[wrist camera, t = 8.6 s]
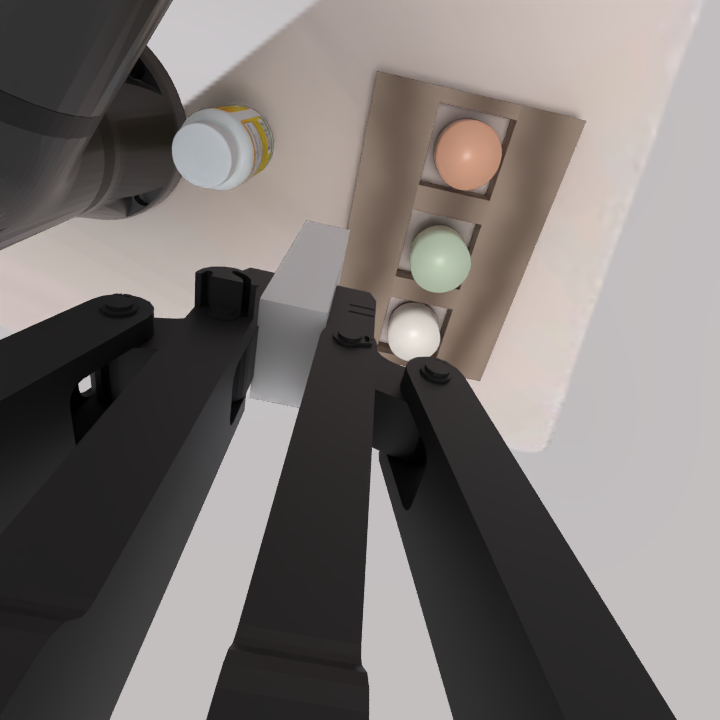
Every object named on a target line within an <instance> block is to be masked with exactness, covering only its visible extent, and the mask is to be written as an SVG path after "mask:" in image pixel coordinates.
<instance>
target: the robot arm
mask: <svg viewBox="0 0 720 720" xmlns="http://www.w3.org/2000/svg"><path fill="white" fill-rule="evenodd" d="M172 1H173V0H0V250H2V249H4V248H6V247H9V246H11V245H13V244H15V243H18V242H20V241H22V240H24V239H27V238H29V237H31V236H33V235H36V234H38V233H40V232H42V231H44V230H47V229H49V228H51V227H53V226H56V225H58V224H60V223H62V222H65V221H67V220H69V219H71V218H74V217H82V218H91V219H101V220H117V219H124V218H129V217H133V216H136V215H138V214H141V213H143V212H145V211H147V210H148V209H150V208H152V207H154V206H156V205H157V204H159V203H160V202H162V201H163V200H164V199H165V198H166V197H167V196H168V195H169V194H170V193H171V192H172V191H173V189H174V188H175V186H176V185H177V183H178V181H179V179H180V177H181V174H180V173H179V171H178V170H177V168H176V166H175V164H174V161H173V157H172V143H173V139H174V137H175V135H176V133H177V132H178V131H179V130H180V129H181V127H182V125H183V123H184V122H185V121H186V118H185V114H184V110H183V106H182V103H181V100H180V98H179V95H178V93H177V90H176V88H175V86H174V84H173V82H172V80H171V78H170V76H169V75H168V73H167V71H166V70H165V68H164V67H163V65H162V64H161V62H160V61H159V60H158V58H157V57H156V56H155V55H154V53H153V52H152V51H151V50H150V49H149V48H148V46H147V43H148V41H149V40H150V38H151V36H152V35H153V33H154V31H155V30H156V28H157V26H158V24H159V23H160V21H161V19H162V17H163V16H164V14H165V12H166V11H167V9H168V8H169V6H170V4H171V2H172ZM349 232H350V230H347V229H343V228H339V227H334V226H330V225H325V224H321V223H317V222H312V221H308V220H306V222H305V224H304V225H303V227H302V229H301V230H300V232H299V234H298V235H297V237H296V239H295V240H294V242H293V244H292V246H291V247H290V249H289V251H288V252H287V254H286V256H285V257H284V259H283V261H282V262H281V264H280V266H279V267H278V269H277V271H276V272H275V273H273V272H268V271H263V270H259V269H254V268H249V269H246V270H243V271H242V270H239V269H236V268H229V267H208V268H203V269H201V270H199V271H197V272H196V273H195V307H194V308H193V309H192V310H191V312H190V313H189V314H188V315H187V316H186V318H183V319H170V318H154V307H153V306H152V304H151V303H150V302H149V301H147V300H145V299H143V298H140V297H136V296H132V295H129V294H124V295H122V294H113V295H105V296H101V297H97V298H94V299H91V300H89V301H87V302H84V303H82V304H80V305H78V306H75V307H73V308H71V309H69V310H66V311H64V312H62V313H60V314H57V315H55V316H53V317H51V318H48V319H46V320H44V321H42V322H39V323H37V324H35V325H33V326H30V327H28V328H26V329H24V330H21V331H19V332H17V333H15V334H12V335H10V336H8V337H6V338H4V339H1V340H0V720H110V717H111V715H112V712H113V710H114V708H115V705H116V703H117V701H118V699H119V696H120V694H121V691H122V689H123V687H124V685H125V682H126V680H127V678H128V676H129V673H130V671H131V668H132V666H133V664H134V662H135V660H136V657H137V655H138V653H139V650H140V648H141V646H142V643H143V641H144V639H145V637H146V634H147V632H148V629H149V627H150V625H151V623H152V621H153V618H154V616H155V614H156V611H157V609H158V607H159V604H160V602H161V600H162V598H163V595H164V593H165V591H166V589H167V586H168V584H169V581H170V579H171V577H172V575H173V572H174V570H175V568H176V566H177V563H178V561H179V559H180V556H181V554H182V552H183V550H184V547H185V545H186V543H187V540H188V538H189V536H190V534H191V531H192V529H193V526H194V524H195V522H196V520H197V517H198V515H199V513H200V511H201V508H202V506H203V504H204V501H205V499H206V497H207V494H208V492H209V490H210V488H211V485H212V483H213V481H214V478H215V476H216V474H217V472H218V469H219V467H220V465H221V462H222V460H223V458H224V456H225V453H226V451H227V449H228V446H229V444H230V442H231V439H232V437H233V435H234V433H235V430H236V428H237V426H238V424H239V421H240V419H241V417H242V414H243V412H244V407H245V398H246V392H247V390H248V388H249V386H250V384H251V388H250V398H253V399H257V400H262V401H267V402H272V403H277V404H282V405H287V406H292V407H297V408H299V412H298V416H297V419H296V423H295V426H294V429H293V433H292V437H291V440H290V444H289V447H288V451H287V455H286V458H285V461H284V465H283V469H282V473H281V476H280V479H279V483H278V486H277V490H276V494H275V497H274V501H273V504H272V508H271V511H270V515H269V518H268V522H267V526H266V529H265V533H264V536H263V540H262V543H261V547H260V550H259V554H258V558H257V561H256V565H255V569H254V572H253V575H252V579H251V583H250V586H249V590H248V593H247V597H246V600H245V604H244V607H243V611H242V615H241V618H240V622H239V625H238V628H237V632H236V635H235V638H234V641H233V643H232V645H231V646H230V647H229V649H228V652H227V654H226V657H225V660H224V662H223V665H222V669H221V672H220V675H219V679H218V682H217V685H216V688H215V692H214V695H213V699H212V702H211V706H210V709H209V712H208V716H207V720H369V684H368V676H367V672H366V670H365V669H364V668H363V666H362V662H361V640H362V621H363V603H364V584H365V564H366V547H367V529H368V510H369V492H370V472H371V455H372V454H371V453H372V447H373V448H375V449H377V450H379V462H380V465H381V469H382V472H383V476H384V479H385V482H386V486H387V490H388V493H389V497H390V500H391V503H392V507H393V511H394V514H395V518H396V521H397V525H398V528H399V531H400V535H401V538H402V542H403V545H404V549H405V552H406V556H407V559H408V563H409V566H410V570H411V573H412V577H413V580H414V584H415V587H416V590H417V594H418V598H419V600H420V605H421V608H422V612H423V615H424V618H425V622H426V625H427V629H428V632H429V636H430V639H431V643H432V646H433V650H434V653H435V657H436V660H437V664H438V667H439V670H440V674H441V678H442V681H443V684H444V688H445V692H446V695H447V698H448V702H449V705H450V709H451V712H452V716H453V719H454V720H677V719H676V718H675V716H674V715H673V713H672V711H671V710H670V708H669V707H668V705H667V703H666V702H665V700H664V698H663V697H662V695H661V694H660V692H659V691H658V689H657V687H656V686H655V684H654V682H653V681H652V679H651V677H650V676H649V674H648V673H647V671H646V670H645V668H644V666H643V665H642V663H641V661H640V660H639V658H638V657H637V655H636V653H635V652H634V650H633V648H632V647H631V645H630V644H629V642H628V640H627V639H626V637H625V635H624V634H623V632H622V631H621V629H620V627H619V626H618V625H617V623H616V621H615V619H614V618H613V616H612V615H611V613H610V611H609V610H608V608H607V606H606V605H605V603H604V602H603V600H602V598H601V597H600V595H599V594H598V592H597V590H596V589H595V587H594V585H593V584H592V583H591V581H590V579H589V577H588V576H587V574H586V572H585V571H584V569H583V568H582V566H581V564H580V563H579V561H578V560H577V558H576V556H575V555H574V553H573V551H572V550H571V548H570V547H569V545H568V543H567V542H566V540H565V539H564V537H563V535H562V534H561V532H560V530H559V529H558V527H557V526H556V524H555V523H554V521H553V519H552V518H551V516H550V514H549V513H548V511H547V510H546V508H545V506H544V505H543V503H542V502H541V500H540V498H539V497H538V495H537V493H536V492H535V490H534V489H533V487H532V485H531V484H530V482H529V480H528V479H527V477H526V476H525V474H524V472H523V471H522V469H521V468H520V466H519V464H518V463H517V461H516V459H515V458H514V456H513V455H512V453H511V451H510V450H509V448H508V447H507V445H506V443H505V442H504V440H503V438H502V437H501V435H500V434H499V432H498V430H497V429H496V427H495V426H494V424H493V422H492V421H491V419H490V417H489V416H488V414H487V413H486V411H485V409H484V408H483V406H482V405H481V403H480V401H479V400H478V398H477V396H476V395H475V393H474V392H473V390H472V388H471V387H470V385H469V384H468V382H467V380H466V379H465V377H464V375H463V374H462V373H461V372H460V371H459V370H458V369H457V368H456V367H454V366H452V365H451V364H449V363H448V362H446V361H444V360H441V359H439V358H432V357H416V358H413V359H410V360H409V362H408V363H407V364H406V367H403V366H400V365H398V364H395V363H393V362H391V361H389V360H388V359H386V358H385V357H383V356H382V355H381V354H380V353H379V352H378V351H377V342H376V339H375V338H374V330H375V314H376V300H375V299H374V297H373V296H372V295H371V293H370V292H366V291H361V290H356V289H352V288H347V287H343V286H339V282H340V277H341V272H342V267H343V262H344V257H345V252H346V247H347V242H348V237H349ZM88 375H90V377H91V386H92V387H91V388H90V389H88V390H87V391H85V392H83V393H80V391H79V386H78V383H79V382H80V381H81V380H82V379H84V378H85V377H87V376H88Z"/></svg>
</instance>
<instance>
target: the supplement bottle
mask: <svg viewBox="0 0 720 720" xmlns="http://www.w3.org/2000/svg"><path fill="white" fill-rule="evenodd" d="M272 153H273V137H272V133H271V130H270V128H269V126H268V124H267V122H266V121H265V120H264V118H263V117H262V116H261V115H260V114H259V113H257V112H256V111H255V110H253V109H251V108H249V107H246V106H242V105H231V106H224V107H216V108H208V109H202V110H199V111H197V112H195V113H193V114H192V115H190V116H189V117H188V118H187V119H186V121H185V122H184V123H183V125H182V127H181V129H180V130H179V131H178V132H177V133H176V135H175V137H174V139H173V143H172V157H173V161H174V164H175V166H176V168H177V170H178V171H179V173H180V174H181V175H182V176H183V177H184V178H185V179H186V180H187V181H188V182H190V183H191V184H193V185H195V186H198V187H202V188H210V189H214V190H229V189H232V188H235V187H237V186H239V185H241V184H242V183H244V182H245V181H247V180H248V179H250V178H251V177H253V176H254V175H256V174H257V173H259V172H260V171H262V170H263V169H264V168H265V167H266V166H267V164H268V163H269V161H270V159H271V156H272Z"/></svg>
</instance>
